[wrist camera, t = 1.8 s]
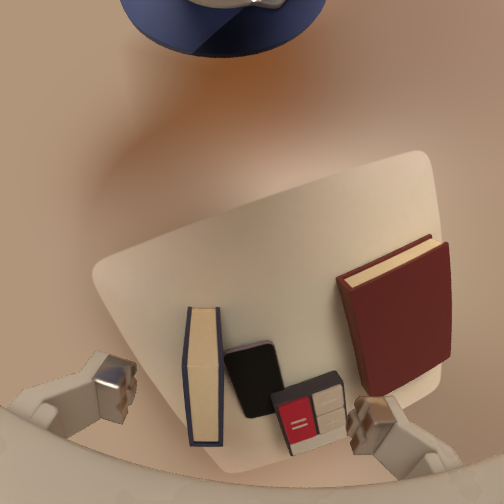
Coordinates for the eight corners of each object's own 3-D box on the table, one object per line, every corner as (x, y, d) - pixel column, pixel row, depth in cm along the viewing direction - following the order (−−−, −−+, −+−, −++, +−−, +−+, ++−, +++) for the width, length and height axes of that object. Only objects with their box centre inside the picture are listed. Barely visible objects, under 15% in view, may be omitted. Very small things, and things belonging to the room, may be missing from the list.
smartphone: (246, 419, 45) (220, 354, 40) (245, 414, 46) (219, 349, 41) (289, 409, 45) (273, 341, 40) (288, 404, 46) (272, 336, 41)
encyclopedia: (335, 277, 40) (349, 291, 35) (429, 233, 40) (448, 242, 35) (361, 384, 47) (372, 401, 43) (436, 343, 47) (450, 356, 43)
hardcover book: (191, 383, 42) (189, 446, 31) (188, 306, 38) (181, 366, 27) (218, 384, 43) (223, 446, 31) (219, 307, 39) (224, 366, 27)
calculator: (345, 382, 41) (350, 438, 45) (334, 367, 45) (342, 423, 50) (274, 408, 40) (291, 460, 45) (268, 390, 44) (286, 443, 49)
